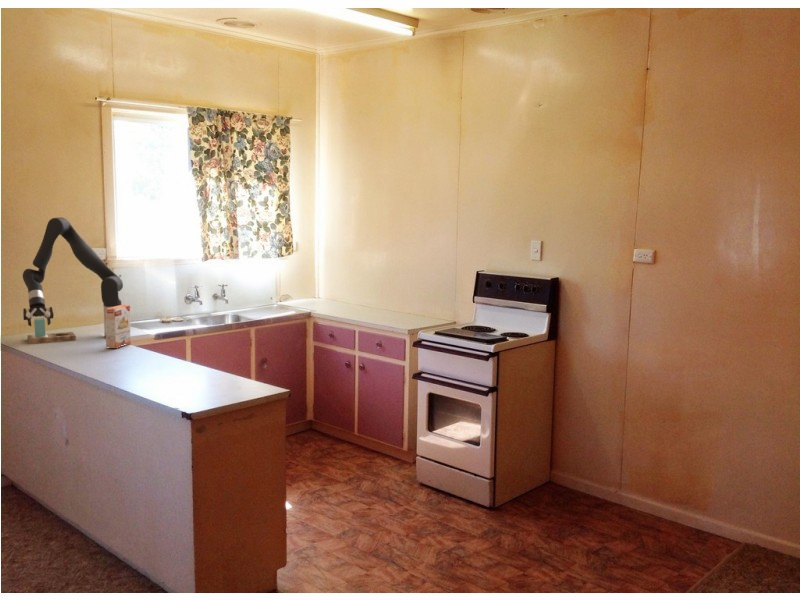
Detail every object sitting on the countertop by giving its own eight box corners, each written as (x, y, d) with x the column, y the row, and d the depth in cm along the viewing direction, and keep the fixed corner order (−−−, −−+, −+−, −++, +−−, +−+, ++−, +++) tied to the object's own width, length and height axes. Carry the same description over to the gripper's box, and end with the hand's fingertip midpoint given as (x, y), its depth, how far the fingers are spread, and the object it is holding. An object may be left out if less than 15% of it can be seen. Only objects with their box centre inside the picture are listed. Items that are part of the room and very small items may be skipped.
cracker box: (116, 349, 370) (114, 309, 367) (105, 348, 371) (104, 308, 368) (131, 344, 383) (130, 305, 380) (121, 343, 384) (120, 304, 381)
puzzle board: (72, 337, 397) (72, 331, 396) (75, 341, 387) (75, 335, 386) (27, 340, 386) (27, 334, 385) (29, 345, 375) (29, 338, 375)
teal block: (44, 334, 386) (43, 318, 385) (45, 336, 382) (44, 319, 381) (35, 335, 384) (34, 318, 382) (35, 337, 380) (35, 320, 379)
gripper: (21, 296, 383) (24, 321, 375) (51, 295, 390) (54, 319, 382) (21, 305, 388) (24, 330, 380) (50, 303, 395) (54, 328, 387)
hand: (39, 324), depth 381 cm, fingers open, 8 cm apart
